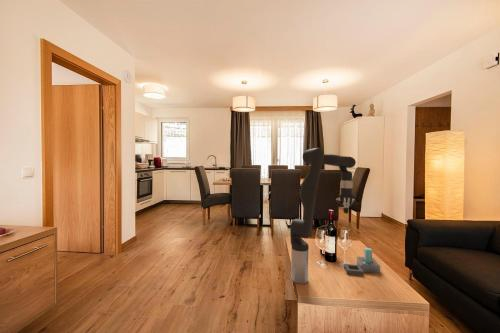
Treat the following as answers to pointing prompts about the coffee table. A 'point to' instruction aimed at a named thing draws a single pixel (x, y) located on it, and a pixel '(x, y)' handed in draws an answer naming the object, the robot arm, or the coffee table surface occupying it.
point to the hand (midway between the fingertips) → (345, 213)
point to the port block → (368, 265)
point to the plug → (368, 255)
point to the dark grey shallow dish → (353, 269)
